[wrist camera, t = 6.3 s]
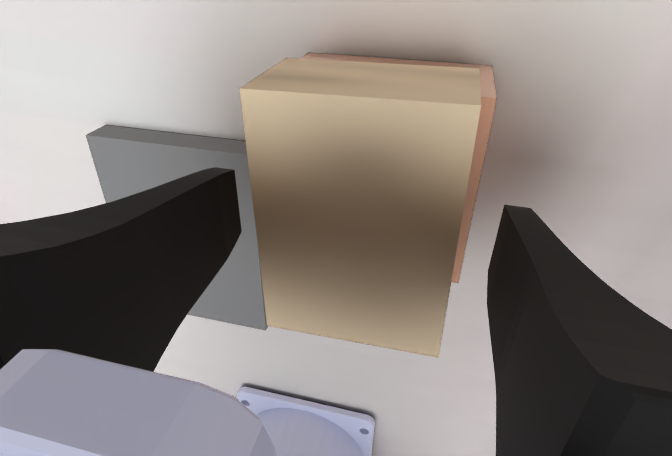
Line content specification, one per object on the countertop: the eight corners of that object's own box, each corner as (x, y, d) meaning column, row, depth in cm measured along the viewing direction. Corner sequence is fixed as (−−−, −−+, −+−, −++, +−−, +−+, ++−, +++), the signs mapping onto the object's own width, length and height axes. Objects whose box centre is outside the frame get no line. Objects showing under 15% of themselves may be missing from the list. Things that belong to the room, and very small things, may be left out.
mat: (274, 313, 23) (265, 330, 22) (149, 288, 24) (136, 304, 23) (261, 142, 18) (249, 155, 17) (105, 124, 19) (85, 135, 18)
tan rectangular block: (443, 288, 15) (438, 357, 12) (298, 265, 16) (267, 325, 14) (479, 68, 11) (481, 105, 9) (286, 57, 12) (239, 88, 10)
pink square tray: (460, 226, 18) (458, 282, 15) (311, 205, 19) (282, 253, 16) (491, 65, 14) (496, 98, 11) (308, 52, 15) (271, 78, 13)
